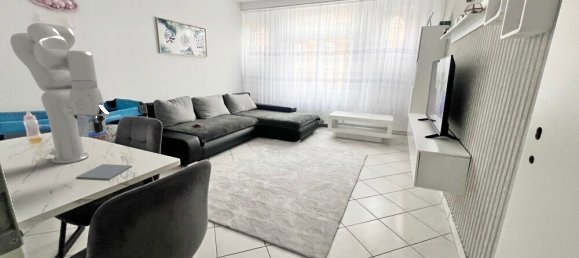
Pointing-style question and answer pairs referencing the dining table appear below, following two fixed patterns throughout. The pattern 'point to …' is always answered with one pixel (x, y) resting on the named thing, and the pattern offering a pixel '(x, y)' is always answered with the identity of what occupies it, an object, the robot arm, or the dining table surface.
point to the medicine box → (88, 126)
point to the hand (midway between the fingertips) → (92, 131)
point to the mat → (104, 172)
